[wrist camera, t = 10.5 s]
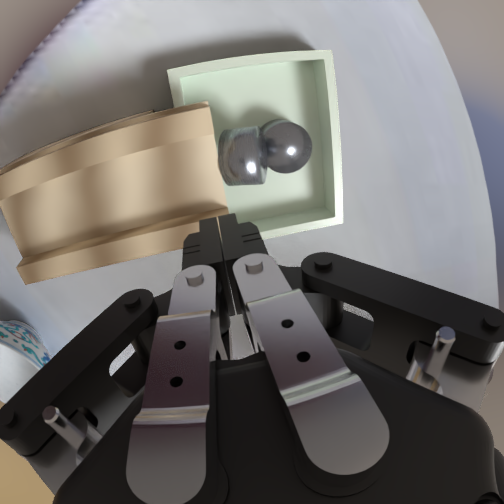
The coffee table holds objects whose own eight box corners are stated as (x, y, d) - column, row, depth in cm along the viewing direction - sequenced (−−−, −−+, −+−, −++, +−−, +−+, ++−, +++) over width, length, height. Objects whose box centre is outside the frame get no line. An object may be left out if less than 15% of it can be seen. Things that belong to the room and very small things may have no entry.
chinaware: (8, 275, 28) (-19, 318, 22) (91, 352, 36) (80, 398, 30) (-31, 322, 30) (-51, 359, 24) (38, 382, 38) (28, 420, 32)
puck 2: (254, 130, 23) (248, 126, 26) (268, 180, 26) (262, 172, 28) (305, 116, 23) (296, 113, 26) (316, 165, 26) (307, 158, 28)
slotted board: (205, 97, 24) (208, 102, 18) (224, 203, 29) (234, 240, 23) (21, 156, 23) (-21, 182, 16) (54, 245, 28) (27, 287, 22)
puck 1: (230, 122, 23) (261, 118, 23) (241, 170, 26) (270, 168, 25) (212, 141, 20) (248, 137, 19) (226, 197, 23) (259, 195, 22)
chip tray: (318, 52, 23) (331, 50, 21) (331, 210, 32) (342, 223, 29) (170, 71, 22) (166, 69, 20) (205, 236, 31) (206, 251, 28)
